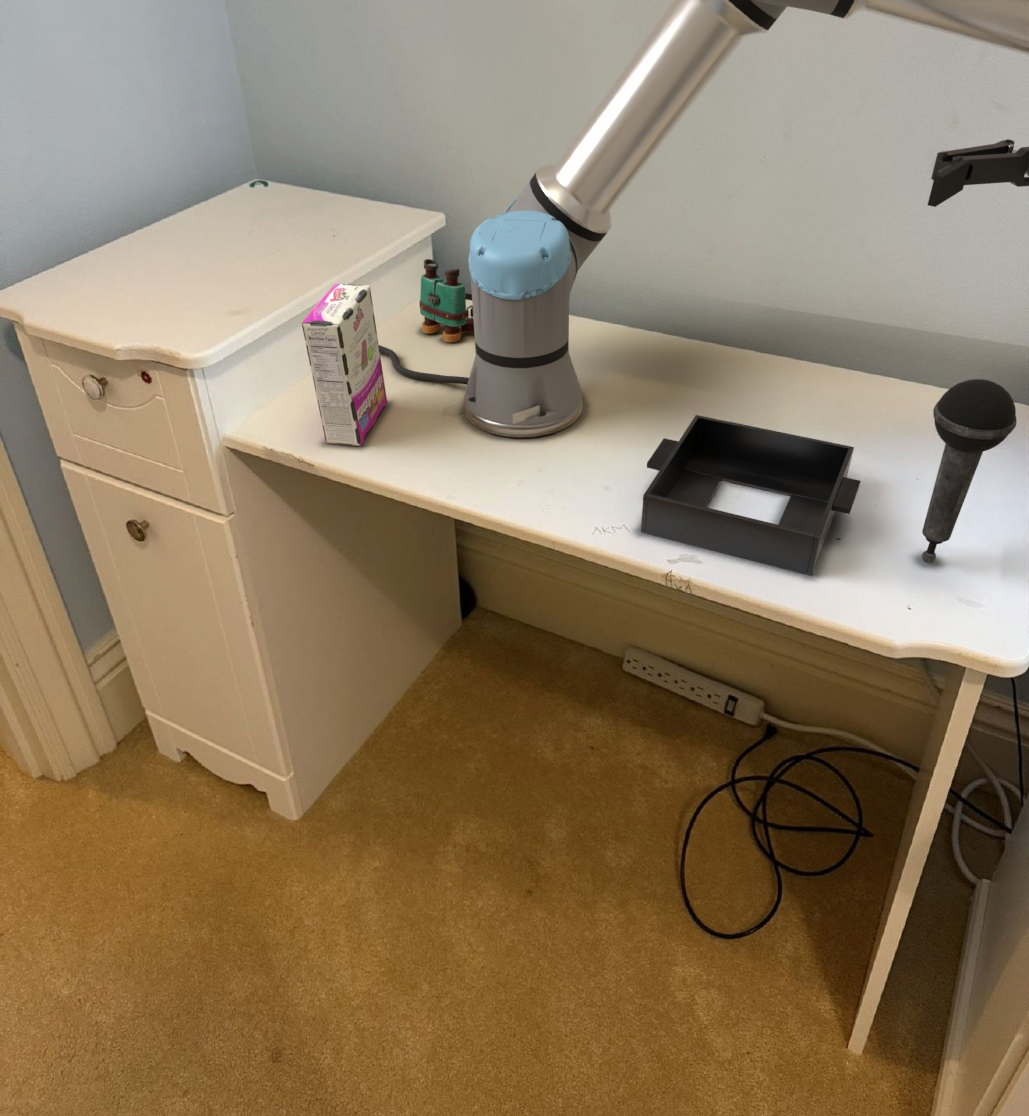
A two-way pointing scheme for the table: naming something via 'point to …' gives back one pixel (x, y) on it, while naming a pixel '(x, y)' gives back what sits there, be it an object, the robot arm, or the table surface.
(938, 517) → the microphone
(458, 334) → the binoculars
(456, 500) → the table surface
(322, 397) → the candy bar box
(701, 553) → the table surface
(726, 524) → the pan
